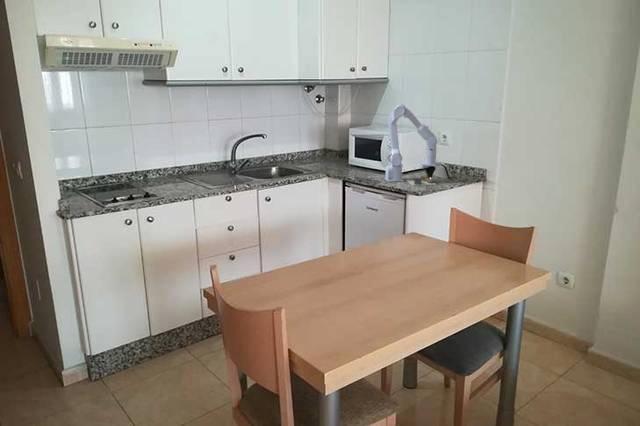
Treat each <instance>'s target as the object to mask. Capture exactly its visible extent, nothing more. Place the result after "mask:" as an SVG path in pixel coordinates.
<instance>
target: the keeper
mask: <svg viewBox="0 0 640 426" xmlns="http://www.w3.org/2000/svg"><path fill="white" fill-rule="evenodd" d="M412 180H414V184H421V180H422V179H421V177H420V176H417V177H415V176H413V177H412Z"/></svg>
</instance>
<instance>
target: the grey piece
mask: <svg viewBox="0 0 640 426" xmlns="http://www.w3.org/2000/svg"><path fill="white" fill-rule="evenodd" d="M438 162H439V163H441V166H435V167H436V170H435V171H434V173H433V175H432V176H434V175H435V177H439V178H441V179H449V178H451V179H453V175H452V174H451V173H450V170H449V167H448V165H447V164H445V163H443V162H440V161H438Z"/></svg>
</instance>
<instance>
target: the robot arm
mask: <svg viewBox="0 0 640 426" xmlns="http://www.w3.org/2000/svg"><path fill="white" fill-rule="evenodd" d="M402 116H403V118H406V119H408V120H409V121H410V122H411V123H412V124H413V125H414V126H415V127H416V128H417V133H418V134H419V136H421V138H422V139H423V140H425V142H426V148H425V149H426V150H425V163H422V164H420V165H419V169H422V170H423V169H425V171H426V174H427V177H428V178H433V176H434V175H433V173H434V171H435V170H436V167H435V166H441V163H442V162H441V163H439V162H440V161H437V144H438V139H437V136H436V135H435V133H434V132H432V131H431V130H430V128H429V126H428V125H426V124H422V123H421V122H420V120H419V119H418V118H417V117H416V116H415V114H414V113H413V112H412V111H411V110H410V109H409V108H408V107H406V106H405V105H404V104H402V103H399V104H397V105H396V106H394V108H393V109H392V110H391V113H390V115H389V116H388V118H387V125H388V132H389V134H388V135H389V139H390V141H389V142H390V150H391V159H390V165H386V166H385V175H384V176H385V178H384V179H385V180H386V181H387V182H390V183H391V182H405V180H404V179H403V178H402V177H403V164H402V160H403V156H402V154H401V151H400V145H399V144H400V143H399V135H398V128H397V121H398V120H399V119H400V118H401V117H402Z"/></svg>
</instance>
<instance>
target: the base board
mask: <svg viewBox="0 0 640 426" xmlns="http://www.w3.org/2000/svg"><path fill="white" fill-rule="evenodd" d="M406 182H407V183H408V182H409V183H408V184H409V185H412V186H413V187H415V186H417V187H418V186H437V183H436V182H434V183H428V182H427V181H424V180H422V179H421V184H414V179H406Z"/></svg>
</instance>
